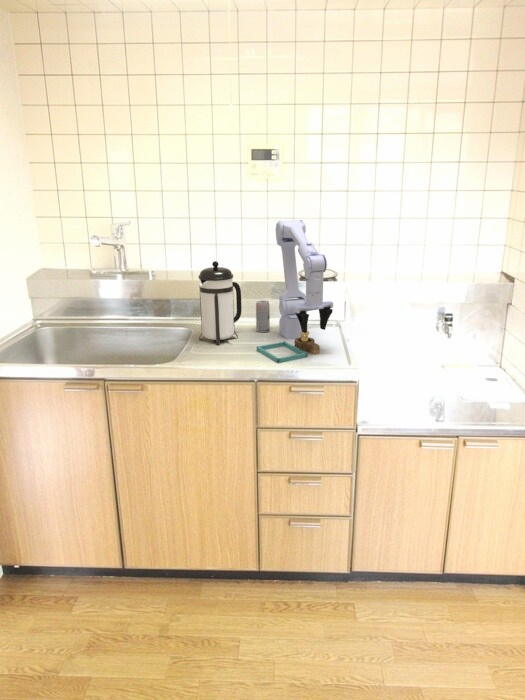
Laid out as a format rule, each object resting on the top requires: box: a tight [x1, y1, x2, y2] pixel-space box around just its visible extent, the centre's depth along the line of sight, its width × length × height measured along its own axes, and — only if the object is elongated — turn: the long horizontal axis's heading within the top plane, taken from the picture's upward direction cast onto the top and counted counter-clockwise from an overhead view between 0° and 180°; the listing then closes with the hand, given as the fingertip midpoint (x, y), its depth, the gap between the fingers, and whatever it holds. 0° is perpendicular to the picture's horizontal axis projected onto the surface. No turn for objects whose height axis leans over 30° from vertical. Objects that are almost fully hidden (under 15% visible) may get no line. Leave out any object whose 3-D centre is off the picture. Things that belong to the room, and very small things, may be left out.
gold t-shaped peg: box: [300, 330, 310, 342], centre depth 182 cm, size 2×3×6 cm
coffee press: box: [197, 260, 242, 346], centre depth 194 cm, size 17×16×30 cm
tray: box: [256, 341, 309, 364], centre depth 178 cm, size 15×12×2 cm
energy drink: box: [255, 300, 271, 334], centre depth 205 cm, size 5×5×12 cm
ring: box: [294, 336, 320, 356], centre depth 181 cm, size 11×7×3 cm, turn 29°
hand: (313, 330), depth 176 cm, fingers open, 7 cm apart
